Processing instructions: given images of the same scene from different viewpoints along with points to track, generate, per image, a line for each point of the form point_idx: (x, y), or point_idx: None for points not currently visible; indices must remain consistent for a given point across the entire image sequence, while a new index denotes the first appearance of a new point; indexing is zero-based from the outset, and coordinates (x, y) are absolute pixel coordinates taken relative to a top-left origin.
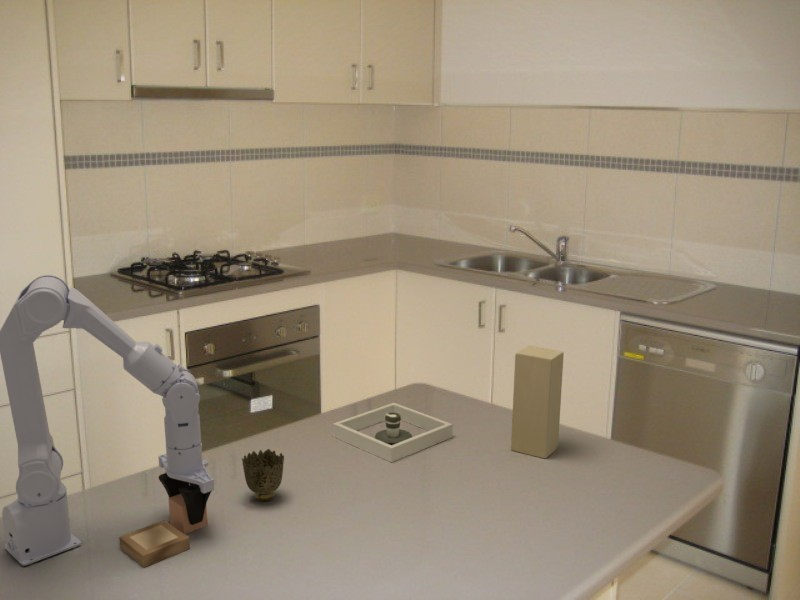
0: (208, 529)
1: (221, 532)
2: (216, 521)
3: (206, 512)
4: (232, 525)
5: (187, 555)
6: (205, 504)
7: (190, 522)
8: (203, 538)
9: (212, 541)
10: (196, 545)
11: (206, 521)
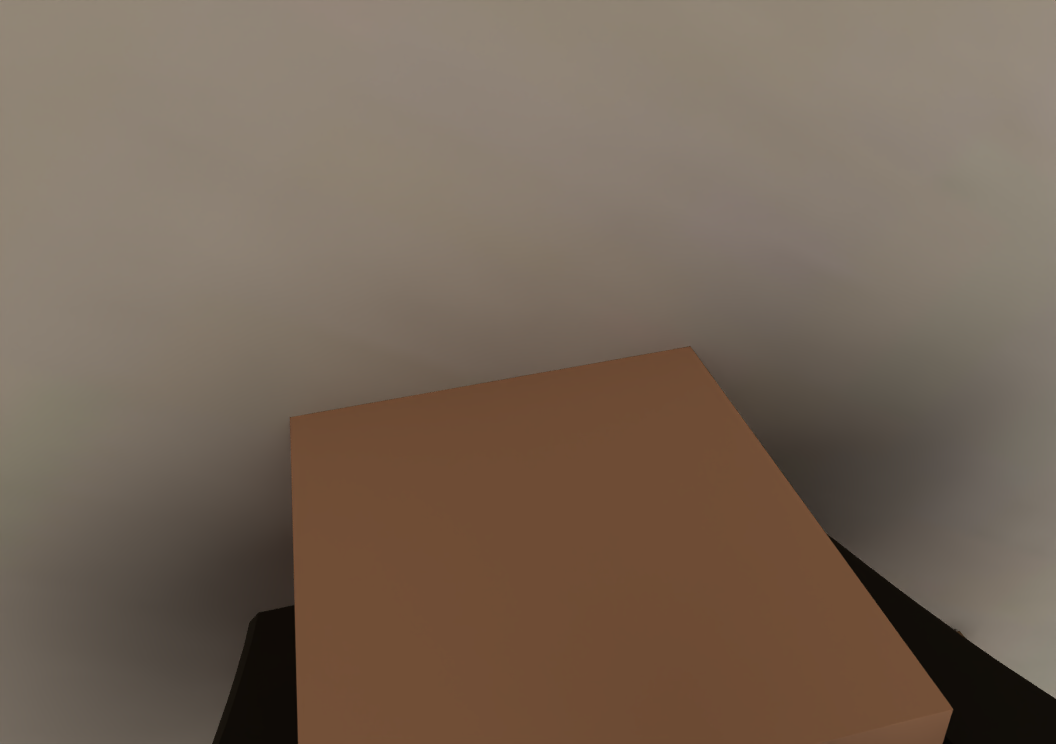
0: (800, 375)
1: (996, 269)
2: (697, 201)
3: (779, 477)
4: (990, 47)
5: (1023, 661)
6: (1043, 703)
7: None
8: (919, 483)
9: (1050, 426)
10: (965, 570)
11: (712, 391)
